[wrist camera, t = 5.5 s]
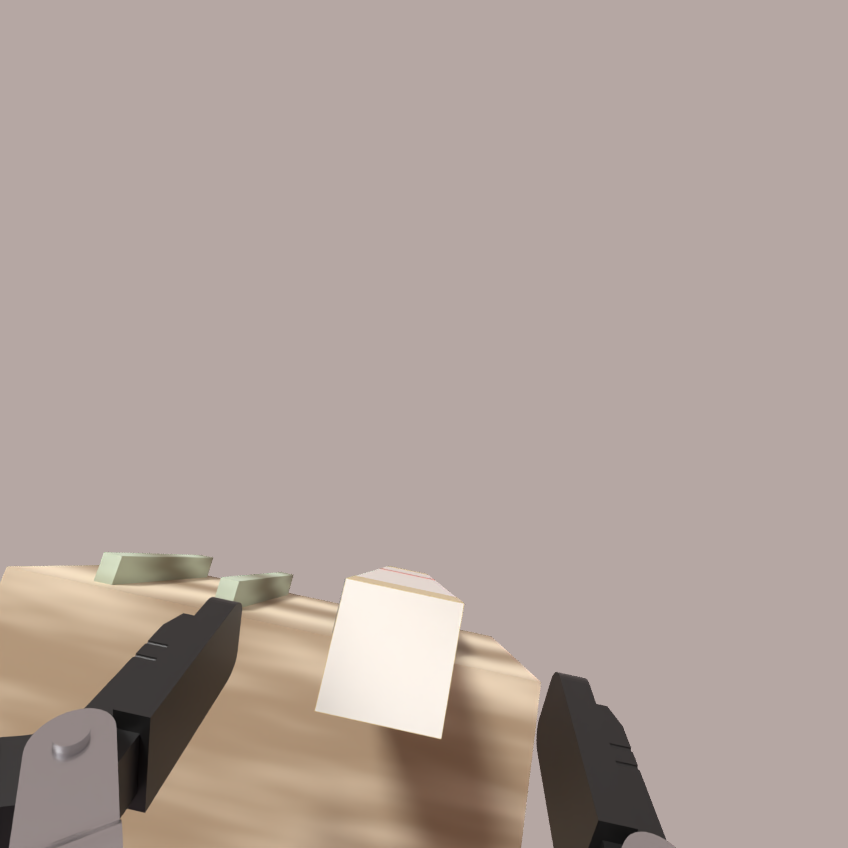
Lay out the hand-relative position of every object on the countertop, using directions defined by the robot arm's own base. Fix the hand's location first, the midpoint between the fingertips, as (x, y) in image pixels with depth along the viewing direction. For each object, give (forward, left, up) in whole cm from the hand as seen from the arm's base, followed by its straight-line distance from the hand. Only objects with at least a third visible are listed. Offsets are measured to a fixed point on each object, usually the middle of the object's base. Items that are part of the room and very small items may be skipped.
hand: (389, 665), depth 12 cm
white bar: (-8, -6, -1) cm, 11 cm away
